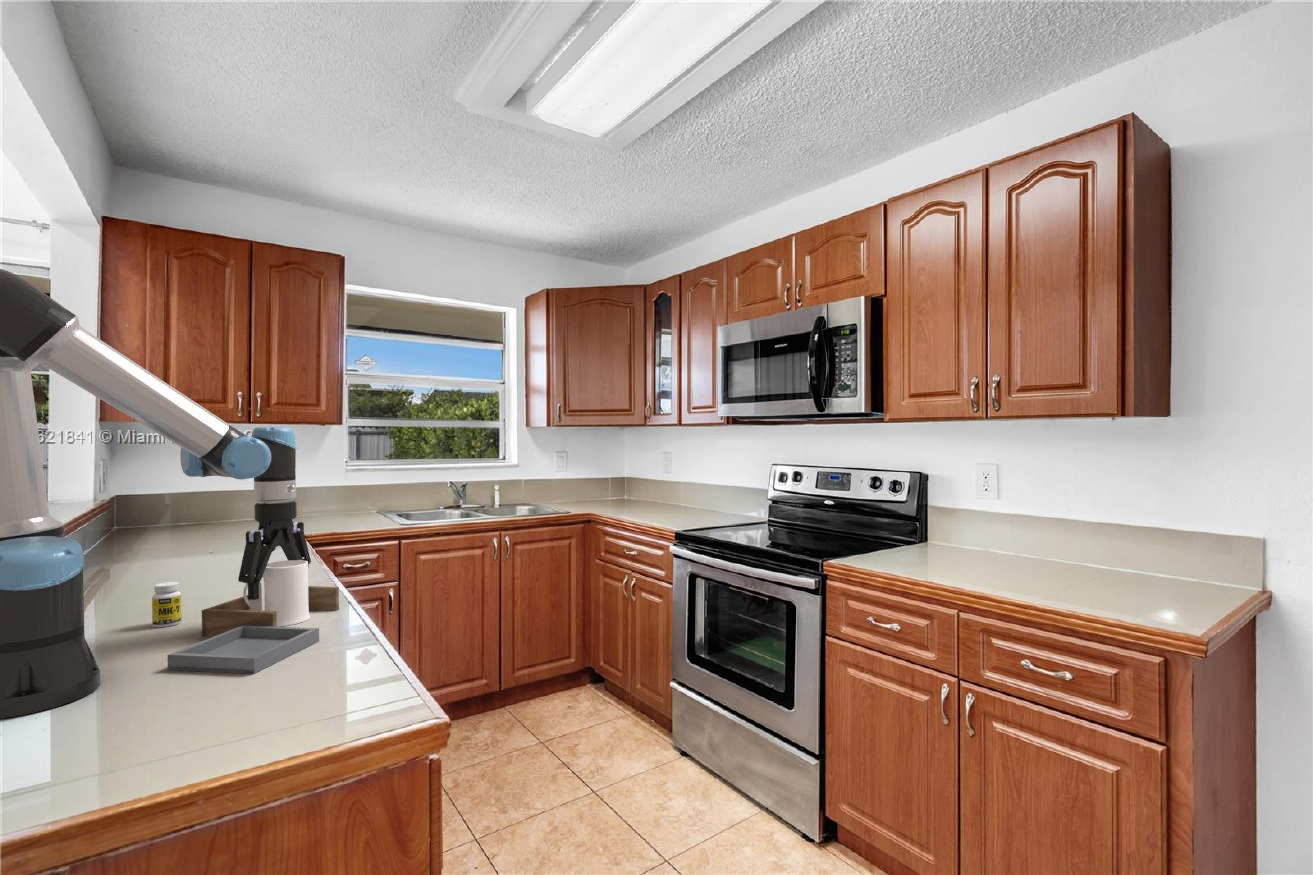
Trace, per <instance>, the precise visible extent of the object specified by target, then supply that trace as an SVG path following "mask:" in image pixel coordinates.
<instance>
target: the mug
mask: <svg viewBox="0 0 1313 875" xmlns="http://www.w3.org/2000/svg"><path fill="white" fill-rule="evenodd" d="M308 565H309V564H308V562H307V561H304V560H288V559H287V560H281V561H274V562H270V563H267V566H266V569H265V571H264V574H263V576H262V578H263V582H264V593H265V611H276V617H277V627H290V626H294V625H298V624H301V623H304V622H306V621H308V620H310V618H311V615H310V610H309V606H308V586H309V570H308V569H309V567H308ZM255 577H256V575H255ZM247 591H248V584H247V583H245V585H244V587H243V592H242V593H243V594H242V595H243V596H244V600H245V602H246V603H247V605H248V606H249V607H250V602H249V601H248V599H247V597H246V595H247ZM243 596H242V597H243Z"/></svg>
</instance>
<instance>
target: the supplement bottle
mask: <svg viewBox="0 0 1313 875" xmlns="http://www.w3.org/2000/svg"><path fill="white" fill-rule="evenodd" d="M179 585H180V583H179V582H178V581H168V582H160V583H156V584H155V585H154V594H153V595H152V597H151V602H152V603H151V608H152V612H151V614H152V615H151V616H152V618H151V621H152V622H151V623H152V627H154V628H167V627H172V626H177V625H179V624H180V623H181V622H182V593H181V591H179V589H180V586H179Z"/></svg>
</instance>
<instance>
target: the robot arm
mask: <svg viewBox="0 0 1313 875" xmlns="http://www.w3.org/2000/svg"><path fill="white" fill-rule="evenodd" d="M39 364H40V365H43V366H44V367H46V368H47V369H49V370H51V371H52V372H55V373H56V374H57V375H59V376H61V377H62V378H64V379H66V380H67V381H69V382H71V383H73V385H74V384H75V385H76V386H77V387H79V388H81V389H82V390H84V391H86V392H88V393H89V394H91V395H92V396H94V397H96V398H98V399H100V400H102V401H103V402H104V403H106V404H107V405H109V406H111V407H113V408H114V409H116V410H117V411H120V412H121V413H123V414H124V415H126V416H128V417H130V418H132V419H133V420H134V421H136V422H138V423H139V424H141V425H142V426H145V427H146V428H148V429H150V430H151V431H152V432H155V433H156V434H158V435H160V436H161V437H163V438H165V439H166V440H168V441H170V442H172V443H174V444H175V445H177V446H178V447H180V454H179V456H180V466H181V470H182V472H183V474H184V475H185V476H187V477H190V478H191V477H194V478H195V477H196V478H197V477H201V478H206V477H224V478H233V479H236V480H242V481H243V480H247V479H248V480H249V479H253V500H254V501H257V502H256V503H255V504H254V505H253V506H254V509H253V510H254V520H255V522H257V523H258V529H257V530H251V531H250V530H247V531H246V532H245V546H244V549H243V550H244V551H243V554H242V555H243V556H242V560H241V565H240V569H239V574H238V579H237V580H238V582H239V583H243V584H246V583H247V584H248V587H247V595H248V599H249V600H250V610H256V611H265V593H264V581H262V578H263V577H262V576H263V574H264V571H265V569H266V566H267V564H269V563H268V562H269V561H270V558H271V555H272V553H273V552H274V551H275V550H276V548H277V547H281V550H282V552H283V553H284V556H285V557H286V559H287V560H304V561H307V562H308V568H309V566H310V565H311V563H312V560H311V556H310V552H309V548H308V544H307V539H306V535H305V523H304V522H303V521H293V520H295V519H296V518H297V517H298V515H297V512H298V510H297V502H296V500H294V499H296V498H297V486H296V480H297V479H296V472H297V469H296V468H297V467H296V466H297V464H296V462H297V461H296V458H297V457H296V454H297V453H296V452H297V446H296V445H297V444H296V436H295V432H294V429H293V428H291V427H288V426H287V427H286V426H285V427H284V426H281V427H280V426H275V427H270V426H269V427H267V426H266V427H260V426H259V427H255V428H253V429H252V430H253V431H252V435H251V436H248V435H246V434H245V433H243V432H241V431H240V430H238V429H237V428H235V426H234V427H233V426H232V425H230V423H227V422H226V421H225V420H223V419H222V418H220V417H218V416H217V415H216V414H214V413H212V412H211V411H210V410H208V409H207V408H205V407H203V406H202V405H200V404H199V403H197V402H196V401H194V400H193V399H191V398H189V397H188V396H186V395H185V394H184V393H182V392H181V391H179V390H177V389H176V388H174V387H173V386H171V385H170V384H168V383H167V382H166V381H164V380H163V379H161V378H159V377H158V376H157V375H154V374H153V373H151V372H150V371H149V370H147V369H146V368H144V367H143V366H141V365H139V364H138V363H136V362H135V361H134V360H132V359H130V358H129V357H127V356H125V354H123V353H122V352H121V351H120V352H119V351H118V350H117V349H115V348H114V347H112V346H111V345H109V343H108V344H107V343H106V342H105V341H103V340H102V339H99V337H97V336H96V335H94V334H92V333H91V332H89V331H88V330H86V329H85V328H84V327H82V326H81V325H80V320H79V316H77V315H76V314H74V313H73V312H71V311H70V310H68V309H67V308H66V307H64V306H63V305H62V304H60V303H58V302H57V301H56V300H54V299H53V298H52V297H50V296H49V295H47V294H46V293H44V292H43V291H42V290H40V289H39V288H37V287H36V286H34V284H32V283H31V282H29V281H28V280H26V279H25V278H23V277H22V276H19V275H17V274H15V273H14V272H11V271H8V270H6V269H2V268H0V719H6V718H13V717H19V716H25V715H29V714H34V713H39V712H41V711H45V710H46V711H47V710H49V709H52V708H56V707H59V706H62V705H65V704H68V703H72V702H75V701H77V700H79V699H82V698H83V697H86V696H88V695H90V694H92V693H93V692H95V691H96V690H97V689H98V688H99V687H100V686H101V669H100V667H99V666H98V664H97V662H96V659H95V656H94V655H93V654H94V653H93V652H92V651H91V648H90V646H89V644H88V642H87V640H86V636H85V600H84V599H85V597H84V596H85V595H84V594H85V593H84V592H85V591H84V566H85V564H86V563H85V562H86V560H85V556H84V554H83V547H82V545H81V543H80V542H79V541H78V540H75V539H73V538H70V537H65V528H64V523H63V522H62V521H61V520H58V519H56V518H55V517H52V516H51V514H50V512H49V502H48V495H47V488H46V481H45V480H46V479H45V473H44V465H43V457H42V456H43V455H42V450H41V449H42V447H41V442H40V441H41V440H40V434H39V426H38V418H37V411H36V403H35V395H34V394H35V393H34V390H33V389H34V388H33V381H32V371H33V369H34V370H35V368H36V367H37V366H38V365H39ZM255 575H256V577H255Z"/></svg>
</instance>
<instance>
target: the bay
mask: <svg viewBox="0 0 1313 875" xmlns="http://www.w3.org/2000/svg"><path fill="white" fill-rule="evenodd" d="M339 589H340V588H339V586H321V585H320V586H317V585H313V586H312V585H308V606H309V611H312V610H313V611H338V610H340V594H339V593H340V590H339ZM246 597H247V599H248V594H246ZM248 601H249V602H250V600H249V599H248ZM242 625H244V626H273V627H277V617H276V611H256V610H250V607H249V606H248V605H247V603H246V602H245V600H244V596H241V597H238V598H235V599H231V600H229V601H226V602H223V603H219V604H216V605H214V606H213V605H212V606H211V607H208V608H204V609H202V610H201V631H202V632H201V636H202V637H214V636H217V635H219V634H222V633H224V632H227V631H230V630H232V629H235V628H237V627H240V626H242Z"/></svg>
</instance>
